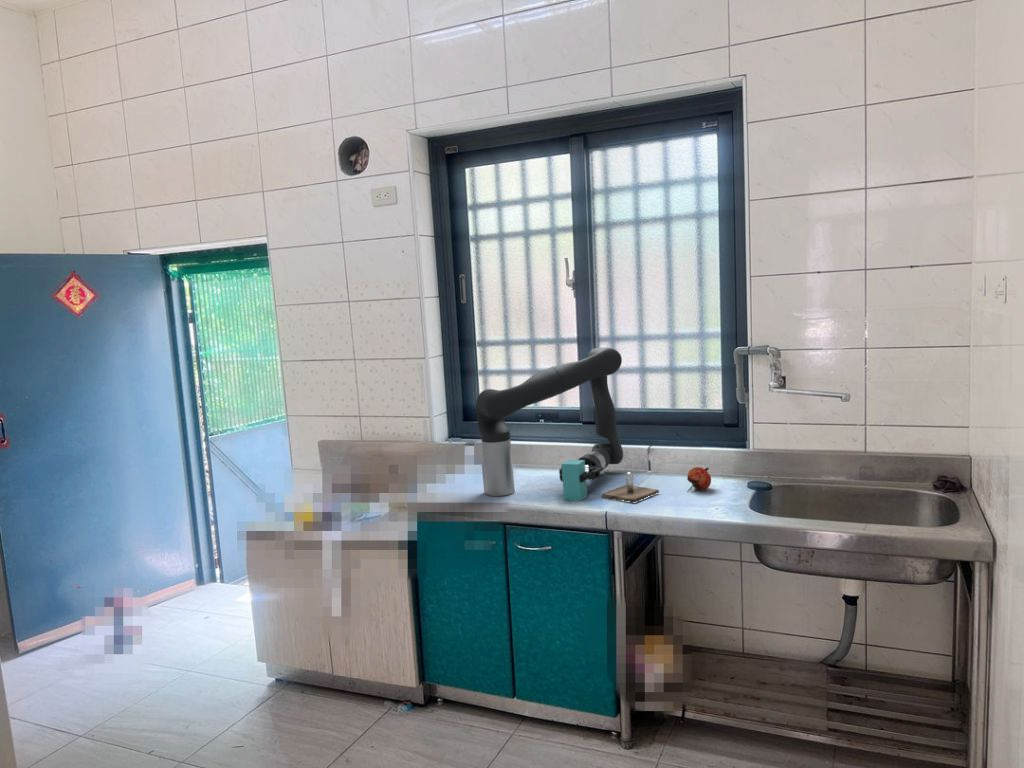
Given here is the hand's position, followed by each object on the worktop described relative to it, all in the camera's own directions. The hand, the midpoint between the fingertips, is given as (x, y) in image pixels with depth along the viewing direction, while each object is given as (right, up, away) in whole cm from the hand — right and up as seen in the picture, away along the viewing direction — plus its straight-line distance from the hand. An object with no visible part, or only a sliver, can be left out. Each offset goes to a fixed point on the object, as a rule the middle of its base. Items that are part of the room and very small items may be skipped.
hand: (571, 478), depth 217 cm
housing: (+2, -6, +3) cm, 7 cm away
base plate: (+18, -5, 0) cm, 18 cm away
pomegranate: (+38, -4, 0) cm, 38 cm away
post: (+18, -4, 0) cm, 18 cm away
